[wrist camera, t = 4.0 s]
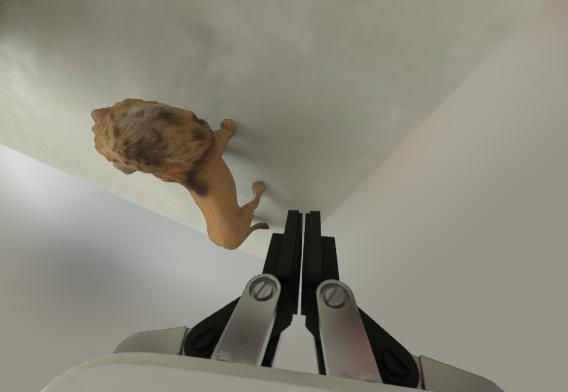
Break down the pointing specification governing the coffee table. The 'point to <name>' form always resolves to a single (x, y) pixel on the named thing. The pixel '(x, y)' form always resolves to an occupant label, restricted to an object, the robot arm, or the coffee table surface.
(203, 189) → the lion figurine
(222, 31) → the coffee table surface
